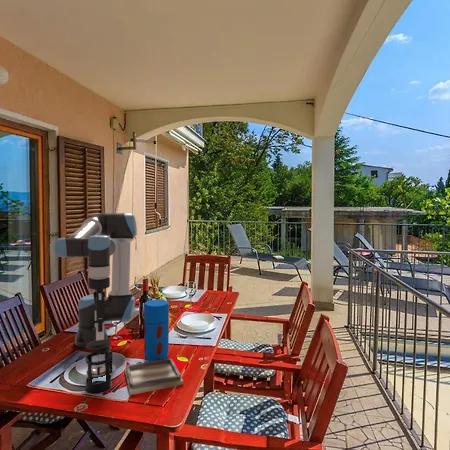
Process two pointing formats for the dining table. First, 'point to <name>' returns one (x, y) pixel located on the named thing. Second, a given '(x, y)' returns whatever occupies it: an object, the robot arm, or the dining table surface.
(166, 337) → the thermos
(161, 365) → the board
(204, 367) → the dining table surface
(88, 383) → the french press
